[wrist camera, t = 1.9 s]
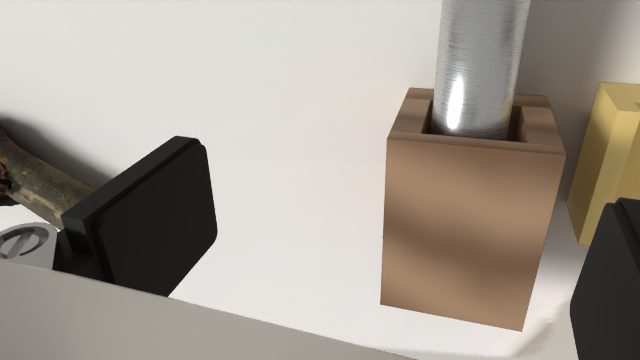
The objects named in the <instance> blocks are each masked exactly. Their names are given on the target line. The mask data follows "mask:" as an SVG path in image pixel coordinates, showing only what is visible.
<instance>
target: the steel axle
mask: <svg viewBox="0 0 640 360" xmlns="http://www.w3.org/2000/svg"><path fill="white" fill-rule="evenodd" d="M530 5H531V0H442V11H441V22H440V33H439V44H438V56H437V67H436V78H435V89H434V100H433V111H432V122H431V133H430V134H431V135H442V136H453V137H465V138H476V139H487V140H498V141H506V138H507V133H508V127H509V121H510V116H511V110H512V105H513V99H514V94H515V88H516V83H517V77H518V71H519V66H520V60H521V55H522V49H523V44H524V38H525V32H526V27H527V21H528V16H529V10H530Z"/></svg>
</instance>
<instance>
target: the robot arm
mask: <svg viewBox="0 0 640 360" xmlns="http://www.w3.org/2000/svg"><path fill="white" fill-rule="evenodd" d="M60 218H61V220H62V223H63V226H64V229H62V230H61V231H60V232H57V230H56V228H55V227H54V226H52V225H50V224H47V223H38V222H34V223H26V224H21V225H17V226H13V227H10V228H8V229H6V230H3V231H1V232H0V360H417V359H413V358H409V357H405V356H401V355H397V354H393V353H389V352H385V351H381V350H377V349H373V348H369V347H365V346H361V345H357V344H353V343H349V342H345V341H341V340H337V339H333V338H329V337H325V336H321V335H317V334H313V333H309V332H305V331H301V330H297V329H293V328H289V327H285V326H281V325H277V324H273V323H269V322H265V321H261V320H257V319H253V318H249V317H245V316H241V315H237V314H233V313H229V312H225V311H221V310H217V309H213V308H209V307H205V306H200V305H196V304H192V303H188V302H184V301H180V300H176V299H172V298H168V296H169V295H170V294H171V292H172V291H173V290H174V289H175V288H176V287H177V285H178V284H179V283H180V282H181V281H182V280H183V278H184V277H185V276H186V275H187V274H188V273H189V271H190V270H191V269H192V268H193V267H194V265H195V264H196V263H197V262H198V261H199V260H200V258H201V257H202V256H203V255H204V254H205V253H206V251H207V250H208V249H209V248H210V247H211V246H212V244H213V243H214V242H215V240H216V237H217V232H218V231H217V222H216V215H215V208H214V201H213V194H212V187H211V180H210V173H209V166H208V159H207V152H206V148H205V146H204V145H201V143H200V141H199V140H198V139H196V138H189V137H182V136H175V137H173V138H171V139H170V140H168V141H167V142H165V143H164V144H163V145H161V146H160V147H158V148H157V149H155V150H154V151H152V152H151V153H150V154H148V155H147V156H145V157H144V158H142V159H141V160H139V161H138V162H136V163H135V164H134V165H132V166H131V167H129V168H128V169H126V170H125V171H123V172H122V173H121V174H119V175H118V176H116V177H115V178H113V179H112V180H110V181H109V182H108V183H106V184H105V185H103V186H102V187H100V188H99V189H97V190H96V191H95V192H93V193H92V194H90V195H89V196H87V197H86V198H84V199H83V200H82V201H80V202H79V203H77V204H76V205H74V206H73V207H71V208H70V209H69V210H67V211H66V212H64V213H63V214H61V215H60ZM570 318H571V323H572V328H573V333H574V338H575V344H576V349H577V354H578V359H579V360H640V200H637V199H630V198H623V197H620V198H618V199H617V201H616V202H615V203H609V202H608V203H606V204H605V206H604V208H603V211H602V214H601V216H600V219H599V222H598V225H597V228H596V231H595V233H594V236H593V239H592V242H591V245H590V248H589V250H588V253H587V256H586V259H585V262H584V265H583V267H582V270H581V273H580V276H579V279H578V282H577V284H576V287H575V290H574V293H573V296H572V299H571V303H570Z"/></svg>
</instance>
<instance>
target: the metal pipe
mask: <svg viewBox="0 0 640 360" xmlns="http://www.w3.org/2000/svg"><path fill="white" fill-rule="evenodd" d="M95 191H96V190H95V189H93V188H91V187H89V186H87V185H85V184H83V183H82V182H80V181H78V180H76V179H74V178H72V177H70V176H69V175H67V174H65V173H64V172H62V171H60V170H58V169H56V168H55V167H53V166H51V165H49V164H48V163H46V162H44V161H42V160H41V159H39V158H37V157H35V156H34V155H32V154H30V153H28V152H27V151H25V150H23V149H22V148H20V147H19V146H18V145H17V144H15V143H14V142H13V141H12V140H11V139H10V138H9V137H8V136H7V134H6V133H5V131H4V129H3V128H2V127H1V125H0V206H13V205H18V204H22V205H23V206H25V207H26V208H28V209H29V210H31V211H32V212H34V213H35V214H37V215H38V216H40V217H41V218H43V219H44V220H46V221H48V222H49V223H50V224H52V225H53V226H55V227H56V228H58V229H59V230H62V229H64V226H63V223H62V220H61V218H60V215H61V214H63V213H64V212H66V211H67V210H69V209H70V208H71V207H73V206H74V205H76V204H77V203H79V202H80V201H82V200H83V199H84V198H86V197H87V196H89V195H90V194H92V193H93V192H95Z"/></svg>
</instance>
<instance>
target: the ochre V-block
mask: <svg viewBox="0 0 640 360" xmlns="http://www.w3.org/2000/svg"><path fill="white" fill-rule="evenodd" d="M620 197H623V198H630V199H637V200H640V84H624V83H605V82H599V85H598V89H597V92H596V96H595V100H594V103H593V107H592V111H591V115H590V118H589V122H588V126H587V129H586V133H585V137H584V140H583V144H582V148H581V152H580V155H579V159H578V163H577V166H576V170H575V174H574V177H573V181H572V185H571V189H570V192H569V196H568V200H567V206H568V210H569V213H570V217H571V220H572V224H573V228H574V231H575V235H576V238H577V242H578V244H579V245H586V246H590V245H591V242H592V239H593V236H594V233H595V231H596V228H597V225H598V222H599V219H600V216H601V214H602V211H603V208H604V206H605V204H606V203H608V202H609V203H615V202H616V201H617V199H618V198H620Z"/></svg>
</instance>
